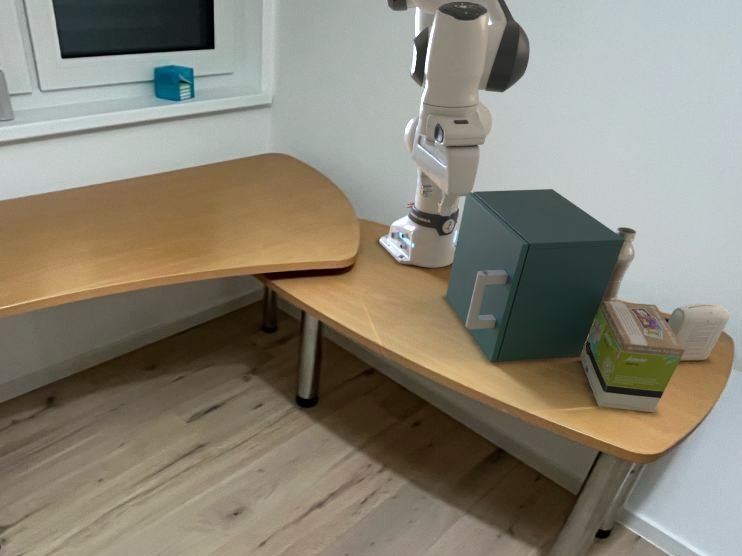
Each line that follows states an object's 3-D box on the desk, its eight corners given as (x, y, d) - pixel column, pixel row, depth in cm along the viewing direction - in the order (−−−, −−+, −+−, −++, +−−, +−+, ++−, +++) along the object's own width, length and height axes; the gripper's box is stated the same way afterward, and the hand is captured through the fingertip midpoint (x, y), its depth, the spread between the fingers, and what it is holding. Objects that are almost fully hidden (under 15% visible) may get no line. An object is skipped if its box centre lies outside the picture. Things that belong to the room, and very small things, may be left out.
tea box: (577, 360, 116) (601, 297, 108) (629, 365, 115) (657, 303, 106) (596, 407, 104) (625, 341, 96) (655, 414, 103) (689, 348, 94)
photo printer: (696, 349, 120) (723, 298, 113) (710, 361, 116) (738, 310, 109) (649, 350, 119) (673, 300, 112) (662, 362, 116) (687, 311, 109)
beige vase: (615, 319, 130) (648, 238, 118) (584, 315, 131) (614, 235, 119) (608, 304, 135) (639, 226, 123) (578, 301, 136) (606, 223, 124)
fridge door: (464, 363, 115) (492, 245, 100) (423, 298, 136) (442, 193, 121) (496, 361, 115) (529, 244, 100) (450, 297, 137) (472, 192, 122)
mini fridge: (497, 362, 116) (530, 243, 100) (451, 297, 137) (473, 191, 122) (580, 357, 117) (625, 239, 102) (522, 293, 139) (552, 188, 124)
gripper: (408, 108, 99) (399, 186, 107) (449, 137, 82) (436, 227, 90) (443, 107, 99) (432, 184, 107) (491, 136, 83) (474, 225, 90)
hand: (434, 204), depth 98 cm, fingers open, 8 cm apart
